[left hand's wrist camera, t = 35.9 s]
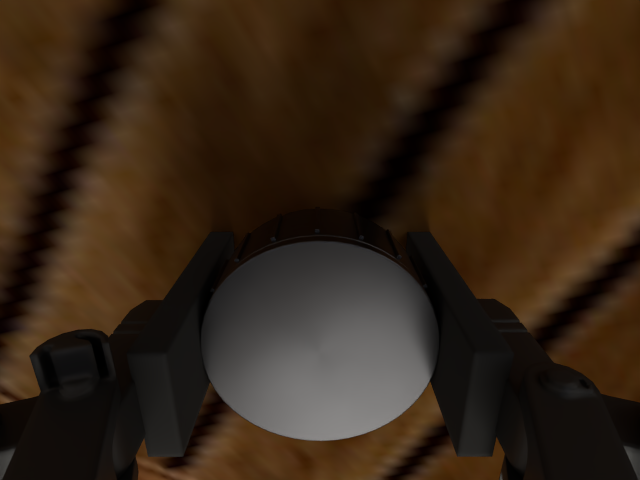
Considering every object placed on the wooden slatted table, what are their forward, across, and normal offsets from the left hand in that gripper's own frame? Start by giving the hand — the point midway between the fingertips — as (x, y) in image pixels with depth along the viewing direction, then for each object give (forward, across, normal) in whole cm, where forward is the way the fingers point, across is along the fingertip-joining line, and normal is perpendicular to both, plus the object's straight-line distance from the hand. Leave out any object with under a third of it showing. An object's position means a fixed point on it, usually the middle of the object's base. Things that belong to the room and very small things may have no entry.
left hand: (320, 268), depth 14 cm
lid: (-4, 0, 0) cm, 4 cm away
